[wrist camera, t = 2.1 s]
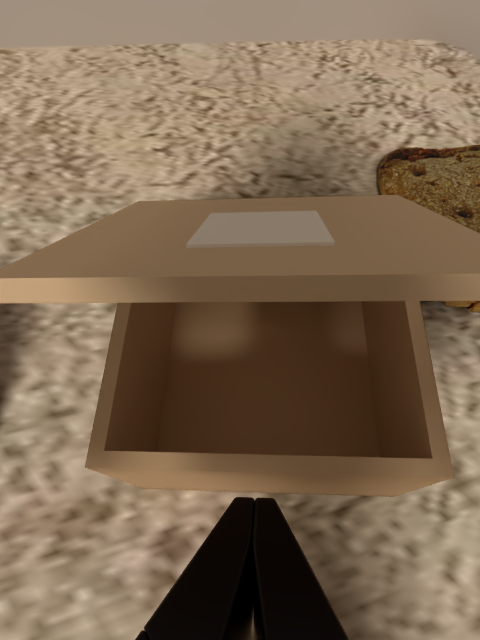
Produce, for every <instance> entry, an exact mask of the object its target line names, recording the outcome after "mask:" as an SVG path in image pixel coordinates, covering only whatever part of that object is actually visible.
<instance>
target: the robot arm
mask: <svg viewBox="0 0 480 640" xmlns="http://www.w3.org/2000/svg"><path fill="white" fill-rule="evenodd" d="M253 613H254V634H255V640H349V638H348V636H347V634H346V632H345V630H344V629H343V627H342V625H341V623H340V621H339V619H338V617H337V615H336V613H335V612H334V610H333V608H332V606H331V604H330V602H329V600H328V598H327V597H326V595H325V593H324V591H323V589H322V587H321V585H320V583H319V581H318V580H317V578H316V576H315V574H314V572H313V570H312V568H311V566H310V564H309V563H308V561H307V559H306V557H305V555H304V553H303V551H302V549H301V548H300V546H299V544H298V542H297V540H296V538H295V536H294V534H293V532H292V531H291V529H290V527H289V525H288V523H287V521H286V519H285V517H284V515H283V514H282V512H281V510H280V508H279V506H278V504H277V502H276V501H275V499H273V498H257V499H256V500H254V499H253V498H250V497H236V498H235V499H234V500H233V501H232V503H231V504H230V506H229V507H228V508H227V510H226V511H225V513H224V514H223V516H222V517H221V518H220V520H219V521H218V523H217V524H216V526H215V527H214V528H213V530H212V531H211V533H210V534H209V536H208V537H207V538H206V540H205V541H204V543H203V544H202V545H201V547H200V548H199V550H198V551H197V553H196V554H195V555H194V557H193V558H192V560H191V561H190V563H189V564H188V565H187V567H186V568H185V570H184V571H183V573H182V574H181V575H180V577H179V578H178V580H177V581H176V583H175V584H174V585H173V587H172V588H171V590H170V591H169V593H168V594H167V595H166V597H165V598H164V600H163V601H162V602H161V604H160V605H159V607H158V608H157V610H156V611H155V612H154V614H153V615H152V617H151V618H150V620H149V621H148V622H147V624H146V625H145V627H144V630H142V631H141V632H140V633H139V635H138V636H137V638H136V639H135V640H250V636H251V628H252V619H253Z"/></svg>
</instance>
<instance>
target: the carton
mask: <svg viewBox="0 0 480 640" xmlns="http://www.w3.org/2000/svg"><path fill="white" fill-rule="evenodd" d="M85 467H86V468H88V469H91V470H94V471H97V472H99V473H102V474H105V475H108V476H111V477H113V478H116V479H119V480H122V481H125V482H127V483H130V484H133V485H136V486H138V487H141V488H144V489H169V490H201V491H232V492H264V493H296V494H327V495H359V496H390V497H394V496H397V495H400V494H403V493H407V492H410V491H413V490H416V489H419V488H422V487H426V486H429V485H432V484H435V483H438V482H441V481H445V480H448V479H451V478H454V475H453V470H452V464H451V459H450V454H449V449H448V444H447V439H446V434H445V428H444V423H443V418H442V413H441V408H440V403H439V397H438V392H437V387H436V382H435V377H434V372H433V367H432V361H431V356H430V351H429V346H428V341H427V336H426V330H425V325H424V320H423V315H422V310H421V305H420V301H334V302H142V303H118V304H117V309H116V314H115V319H114V324H113V329H112V334H111V339H110V344H109V349H108V354H107V359H106V364H105V369H104V374H103V379H102V384H101V389H100V394H99V399H98V404H97V409H96V414H95V419H94V424H93V429H92V434H91V439H90V444H89V449H88V454H87V459H86V464H85Z"/></svg>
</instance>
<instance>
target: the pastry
mask: <svg viewBox="0 0 480 640" xmlns="http://www.w3.org/2000/svg"><path fill="white" fill-rule="evenodd" d="M378 185H379V190H380V193H381V195H399V196H401V197H403V198H406V199H408V200H410V201H412V202H414V203H416V204H418V205H420V206H423V207H425V208H427V209H429V210H431V211H433V212H435V213H438V214H440V215H442V216H444V217H446V218H448V219H450V220H452V221H455V222H457V223H459V224H461V225H463V226H465V227H467V228H469V229H472V230H474V231H476V232H478V233H480V145H472V146H465V147H459V148H449V149H447V148H444V149H441V150H440V151H439V150H438V149H423V148H417V147H415V148H408V147H407V148H402V149H397V150H395V151H393V152H391V153H390V154H389V155H386V157H385V158H384V159H383V161H382V162H381V164H380V166H379V169H378ZM439 302H442V303H446V306H454V307H469V306H472V307H471V308H470V309H469V310H470V311H472V312H479V313H480V301H439Z"/></svg>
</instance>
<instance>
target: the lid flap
mask: <svg viewBox="0 0 480 640" xmlns="http://www.w3.org/2000/svg"><path fill="white" fill-rule="evenodd" d="M334 301H480V233H478V232H476V231H474V230H472V229H469V228H467V227H465V226H463V225H461V224H459V223H457V222H455V221H452V220H450V219H448V218H446V217H444V216H442V215H440V214H438V213H435V212H433V211H431V210H429V209H427V208H425V207H423V206H420V205H418V204H416V203H414V202H412V201H410V200H408V199H406V198H403V197H401V196H399V195H368V196H328V197H289V198H249V199H209V200H170V201H138V202H136V203H134V204H132V205H130V206H128V207H126V208H124V209H122V210H120V211H118V212H116V213H114V214H112V215H110V216H108V217H106V218H104V219H102V220H100V221H98V222H96V223H94V224H92V225H90V226H88V227H86V228H84V229H81V230H79V231H77V232H75V233H73V234H71V235H69V236H67V237H65V238H63V239H61V240H59V241H57V242H55V243H53V244H51V245H49V246H47V247H45V248H43V249H41V250H39V251H37V252H35V253H33V254H31V255H29V256H27V257H24V258H22V259H20V260H18V261H16V262H14V263H12V264H10V265H8V266H6V267H4V268H2V269H0V303H142V302H334Z"/></svg>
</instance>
